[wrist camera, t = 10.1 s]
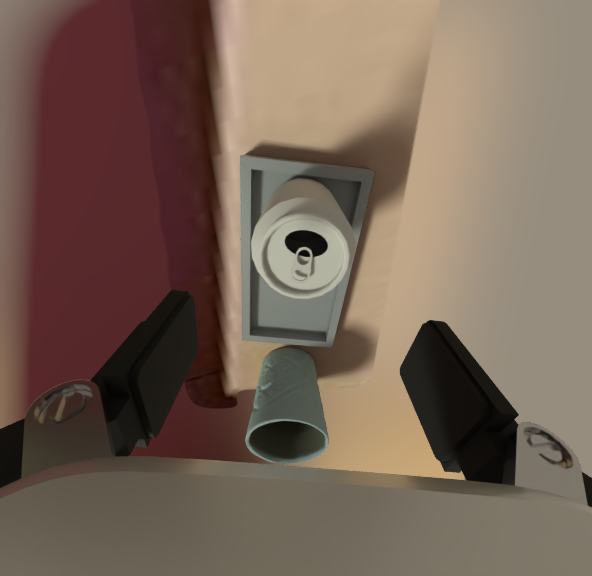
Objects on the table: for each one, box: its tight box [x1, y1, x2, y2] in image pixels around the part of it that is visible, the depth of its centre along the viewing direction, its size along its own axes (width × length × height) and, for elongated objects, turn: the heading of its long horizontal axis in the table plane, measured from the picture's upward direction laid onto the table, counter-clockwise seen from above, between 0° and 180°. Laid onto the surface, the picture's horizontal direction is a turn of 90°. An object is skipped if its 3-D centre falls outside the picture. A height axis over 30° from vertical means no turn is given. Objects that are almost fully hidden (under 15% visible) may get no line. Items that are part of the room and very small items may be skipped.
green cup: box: [246, 347, 329, 463], centre depth 35 cm, size 10×10×12 cm
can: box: [251, 178, 356, 299], centre depth 21 cm, size 8×8×12 cm
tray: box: [240, 154, 375, 348], centre depth 30 cm, size 22×12×2 cm, turn 174°
